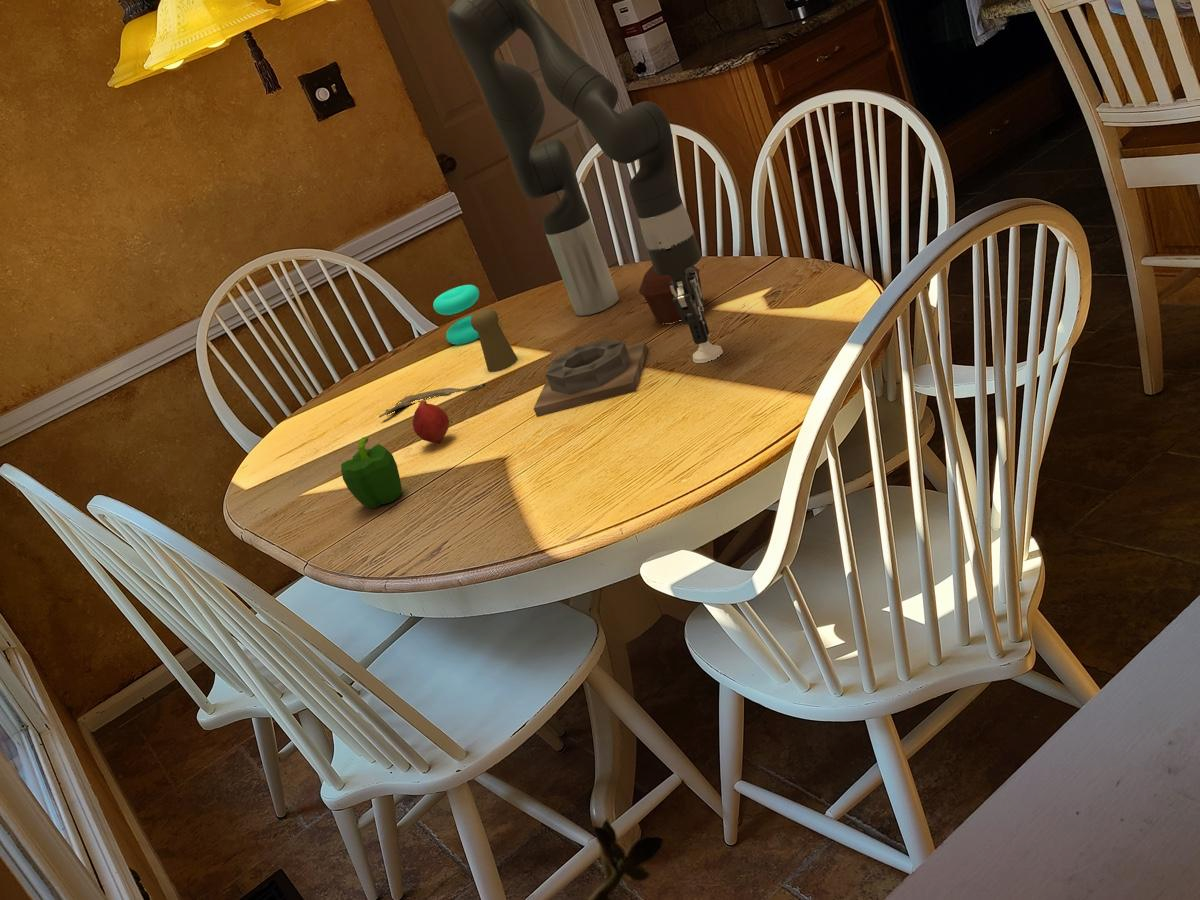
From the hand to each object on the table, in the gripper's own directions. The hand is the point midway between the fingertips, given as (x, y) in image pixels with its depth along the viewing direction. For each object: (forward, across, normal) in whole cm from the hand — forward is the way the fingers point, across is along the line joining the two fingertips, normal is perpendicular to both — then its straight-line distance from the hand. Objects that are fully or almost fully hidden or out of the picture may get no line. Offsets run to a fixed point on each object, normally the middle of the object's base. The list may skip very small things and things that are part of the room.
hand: (702, 338), depth 176 cm
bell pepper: (+3, +24, -50) cm, 56 cm away
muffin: (+3, -24, -7) cm, 25 cm away
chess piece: (+3, 0, 0) cm, 3 cm away
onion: (+3, +7, -46) cm, 47 cm away
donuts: (+4, -46, -55) cm, 72 cm away
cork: (+3, -23, -42) cm, 48 cm away
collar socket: (+3, -2, -20) cm, 20 cm away
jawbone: (+4, -12, -54) cm, 55 cm away
